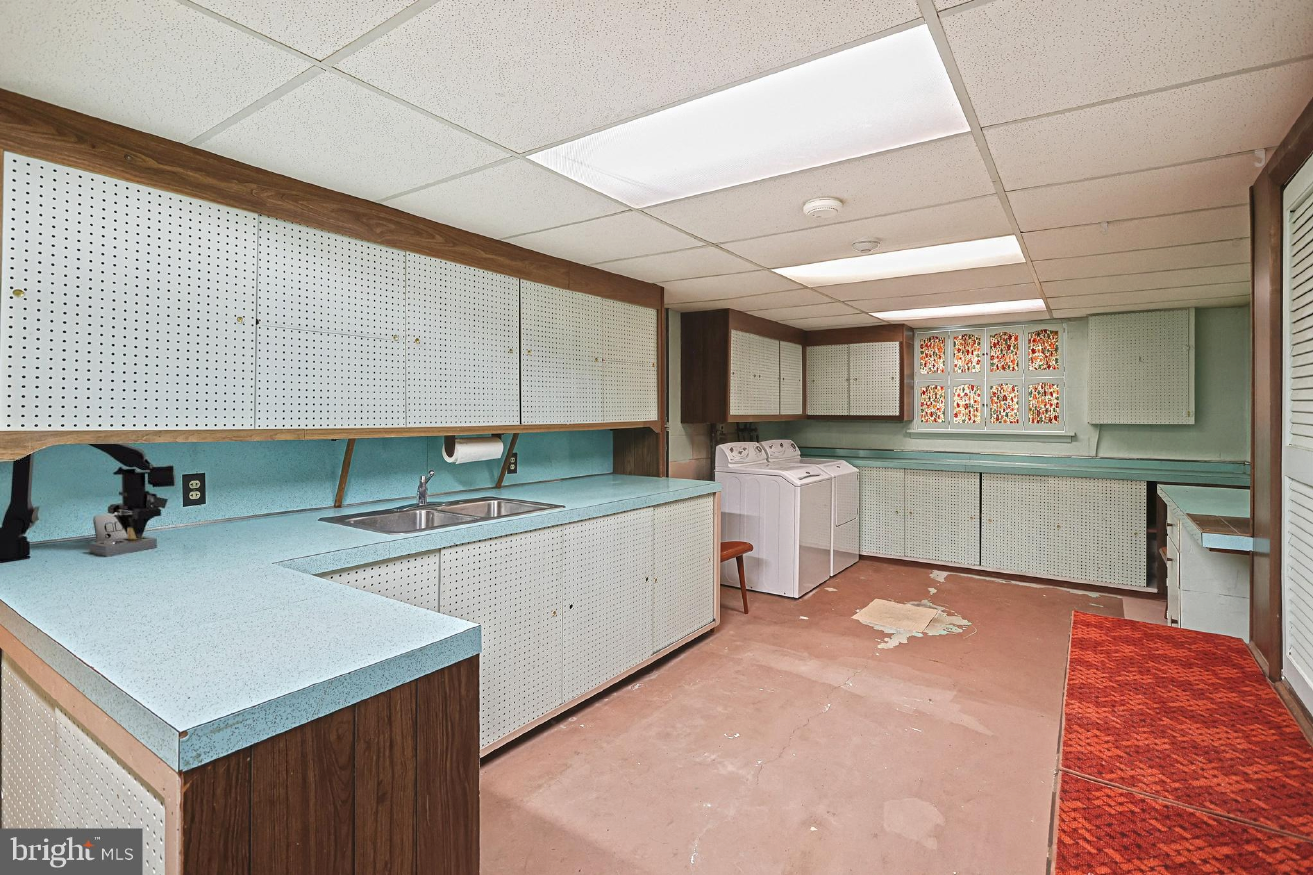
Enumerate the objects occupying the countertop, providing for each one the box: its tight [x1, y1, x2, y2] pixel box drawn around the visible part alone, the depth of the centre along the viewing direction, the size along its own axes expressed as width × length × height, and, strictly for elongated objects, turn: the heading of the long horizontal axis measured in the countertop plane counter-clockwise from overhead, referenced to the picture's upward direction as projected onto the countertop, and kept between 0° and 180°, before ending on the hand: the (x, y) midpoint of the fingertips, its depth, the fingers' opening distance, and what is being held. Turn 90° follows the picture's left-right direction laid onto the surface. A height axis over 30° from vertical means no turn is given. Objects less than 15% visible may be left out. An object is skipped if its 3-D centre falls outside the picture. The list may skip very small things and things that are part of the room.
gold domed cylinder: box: [127, 526, 143, 541], centre depth 194 cm, size 4×4×7 cm
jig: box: [88, 535, 158, 558], centre depth 192 cm, size 13×10×3 cm
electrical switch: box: [92, 512, 127, 542], centre depth 205 cm, size 9×5×9 cm, turn 152°
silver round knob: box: [104, 540, 120, 545], centre depth 189 cm, size 4×4×4 cm
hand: (135, 537), depth 194 cm, fingers open, 5 cm apart
